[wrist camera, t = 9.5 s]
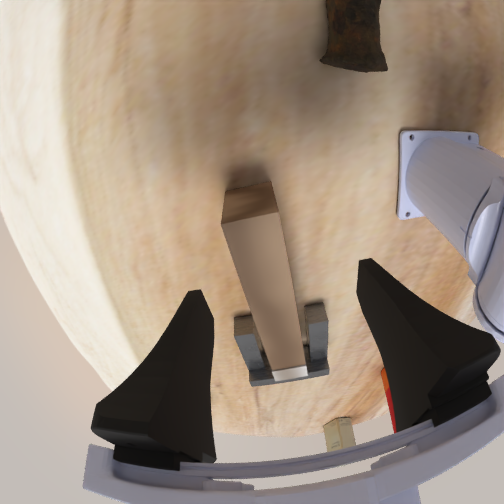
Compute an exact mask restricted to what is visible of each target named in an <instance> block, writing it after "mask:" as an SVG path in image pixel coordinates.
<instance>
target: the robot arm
mask: <svg viewBox="0 0 504 504" xmlns="http://www.w3.org/2000/svg"><path fill="white" fill-rule="evenodd" d="M411 134H412V138H411V139H410V138H409V137H410V135H411ZM468 136H469V138H468ZM407 212H408V214H407V215H406V213H407ZM397 216H398V218H399V219H401V220H404V219H410V218H416V217H422V216H426V217H427V218H428V219H429V220H430V222H431V223H432V224H433V225H434V226H435V227H436V228H437V229H438V230H439V231H440V232H441V233H442V234H443V235H444V236H445V237H446V238H447V239H448V241H449V242H450V243H451V244H452V245H453V246H454V247H455V248H456V250H457V251H458V252H459V253H460V254H461V255H462V257H463V258H464V259H465V260H466V261H467V262H468V264H469V272H468V276H469V277H470V279H471V280H472V281H473V283H474V284H475V285H476V287H475V290H474V293H473V307H474V310H475V314H476V316H477V318H478V320H479V322H480V323H481V325H482V326H483V327H484V329H485V330H486V331H487V332H488V333H487V332H485V331H482V330H479V329H476V328H473V327H471V326H469V325H467V324H464V323H462V322H460V321H458V320H456V319H454V318H452V317H450V316H448V315H446V314H445V313H443V312H441V311H439V310H438V309H436V308H434V307H433V306H431V305H430V304H428V303H427V302H425V301H424V300H422V299H421V298H419V297H418V296H417V295H415V294H414V293H413V292H411V291H410V290H409V289H407V288H406V287H405V286H404V285H402V284H401V283H400V282H399V281H398V280H396V279H395V278H394V277H393V276H392V275H390V274H389V273H388V272H387V271H386V270H385V269H383V268H382V267H381V266H380V265H379V264H378V263H376V262H375V261H374V260H373V259H372V258H369V259H364V260H359V266H358V280H357V291H356V293H357V296H358V300H359V303H360V306H361V309H362V312H363V314H364V317H365V319H366V321H367V323H368V326H369V328H370V330H371V332H372V335H373V337H374V339H375V341H376V344H377V346H378V348H379V351H380V354H381V357H382V360H383V364H384V367H385V371H386V375H387V379H388V383H389V387H390V392H391V398H392V403H393V409H394V416H395V424H396V432H397V433H394V434H392V435H389V436H386V437H383V438H380V439H377V440H373V441H370V442H366V443H363V444H360V445H356V446H352V447H348V448H344V449H340V450H335V451H331V452H326V453H321V454H316V455H311V456H304V457H298V458H291V459H283V460H274V461H264V462H249V463H214V462H215V461H216V459H217V458H216V452H215V445H214V438H213V427H212V416H211V396H210V381H211V369H212V358H213V348H214V318H213V316H212V313H211V311H210V309H209V307H208V304H207V302H206V300H205V298H204V295H203V293H202V291H201V289H200V290H193V291H188V293H187V294H186V296H185V298H184V299H183V301H182V303H181V305H180V306H179V308H178V310H177V312H176V313H175V315H174V317H173V318H172V320H171V322H170V323H169V325H168V327H167V328H166V330H165V332H164V333H163V335H162V336H161V338H160V339H159V341H158V342H157V344H156V345H155V346H154V348H153V349H152V351H151V352H150V353H149V354H148V356H147V357H146V358H145V359H144V361H143V362H142V363H141V364H140V365H139V366H138V367H137V368H136V370H135V371H134V372H133V373H132V374H131V375H130V376H129V377H128V378H127V379H126V380H125V381H124V382H123V383H122V384H121V385H120V386H118V387H117V388H116V389H115V390H114V391H113V392H111V393H110V394H109V395H108V396H106V397H105V398H104V399H103V400H101V401H100V402H98V403H97V404H96V408H95V412H94V416H93V420H92V425H91V430H92V432H94V433H95V434H96V435H97V436H99V437H101V438H103V439H105V440H106V441H108V442H110V443H112V444H115V448H114V450H113V449H109V448H106V447H101V446H97V445H93V444H90V445H89V448H88V454H87V460H86V467H85V473H84V480H83V481H84V482H83V488H84V489H86V490H88V491H91V492H94V493H97V494H99V495H102V496H105V497H108V498H111V499H114V500H117V501H120V502H123V503H127V504H421V502H420V496H419V492H418V485H420V484H422V483H424V482H426V481H428V480H430V479H432V478H434V477H436V476H438V475H440V474H442V473H443V472H445V471H447V470H449V469H450V468H452V467H454V466H456V465H457V464H459V463H461V462H462V461H464V460H466V459H467V458H469V457H470V456H472V455H473V454H475V453H476V452H478V451H479V450H480V449H482V448H484V447H485V446H486V445H488V444H489V443H490V442H492V441H493V440H494V439H496V438H497V437H498V436H500V435H501V434H502V433H503V432H504V375H502V376H501V377H500V378H498V379H497V380H495V381H493V382H492V383H491V384H490V385H488V383H487V380H488V379H489V376H488V374H487V371H488V369H489V368H490V367H491V366H492V365H493V363H494V362H495V361H496V360H497V358H498V357H499V355H500V352H501V350H500V347H499V346H498V344H497V342H496V340H498V341H500V342H502V343H504V158H503V157H501V156H499V155H497V154H496V153H494V152H492V151H490V150H488V149H486V148H485V147H483V146H481V145H479V136H478V134H477V133H475V132H462V131H433V130H412V131H402V132H401V134H400V171H399V194H398V208H397ZM495 339H496V340H495ZM404 446H406V447H405V448H402V449H400V450H398V451H396V452H393V453H391V454H388V455H386V456H383V457H381V458H380V459H379V461H377V462H375V463H373V464H372V465H371V470H370V471H366V472H363V473H359V474H355V475H351V476H347V477H343V478H338V479H333V480H329V481H323V482H318V483H312V484H306V485H299V486H292V487H284V488H275V489H264V490H254V486H253V485H250V484H243V483H241V482H233V481H215V480H213V479H248V478H265V477H276V476H286V475H293V474H301V473H307V472H313V471H319V470H324V469H329V468H333V467H338V466H342V465H346V464H350V463H354V462H358V461H361V460H365V459H368V458H372V457H375V456H378V455H381V454H384V453H387V452H390V451H393V450H396V449H399V448H401V447H404Z"/></svg>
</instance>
